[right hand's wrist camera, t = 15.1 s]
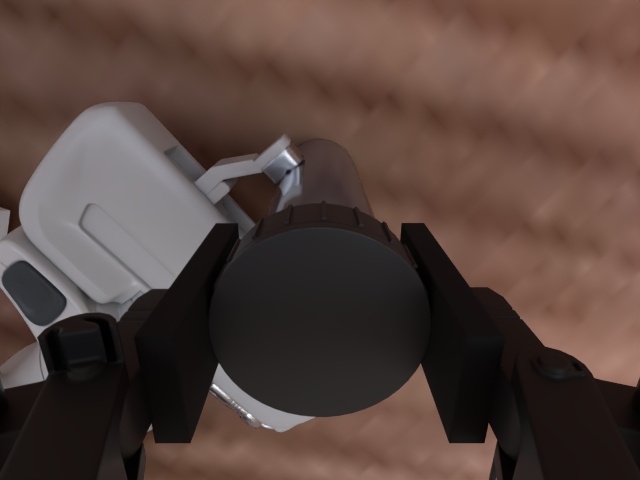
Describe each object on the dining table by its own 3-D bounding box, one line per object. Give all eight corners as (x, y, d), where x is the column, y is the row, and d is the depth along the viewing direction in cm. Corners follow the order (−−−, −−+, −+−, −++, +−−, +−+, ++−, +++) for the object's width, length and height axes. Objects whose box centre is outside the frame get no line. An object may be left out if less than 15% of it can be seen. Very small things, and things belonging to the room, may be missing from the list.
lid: (213, 356, 13) (196, 402, 11) (234, 182, 11) (217, 203, 9) (388, 383, 13) (400, 432, 11) (441, 221, 11) (465, 249, 9)
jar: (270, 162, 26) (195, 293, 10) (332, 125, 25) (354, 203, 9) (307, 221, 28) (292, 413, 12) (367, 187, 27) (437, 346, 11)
